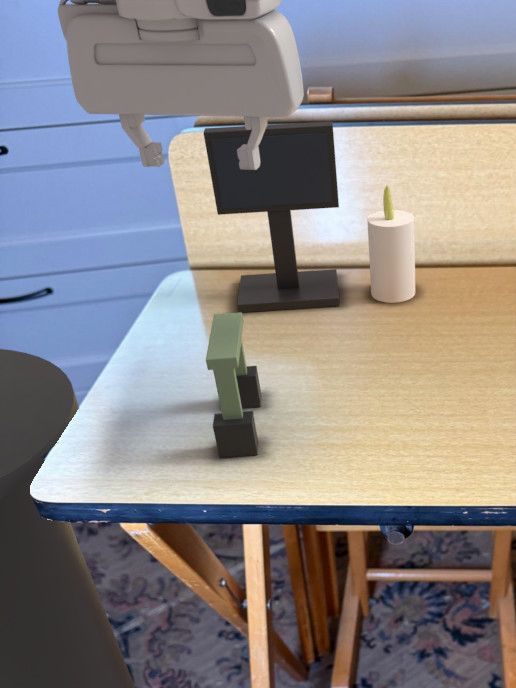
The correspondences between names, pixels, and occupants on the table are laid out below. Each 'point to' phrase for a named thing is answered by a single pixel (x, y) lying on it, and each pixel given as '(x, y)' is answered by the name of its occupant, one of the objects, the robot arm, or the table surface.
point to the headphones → (233, 387)
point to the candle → (391, 253)
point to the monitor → (278, 205)
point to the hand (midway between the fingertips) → (201, 166)
